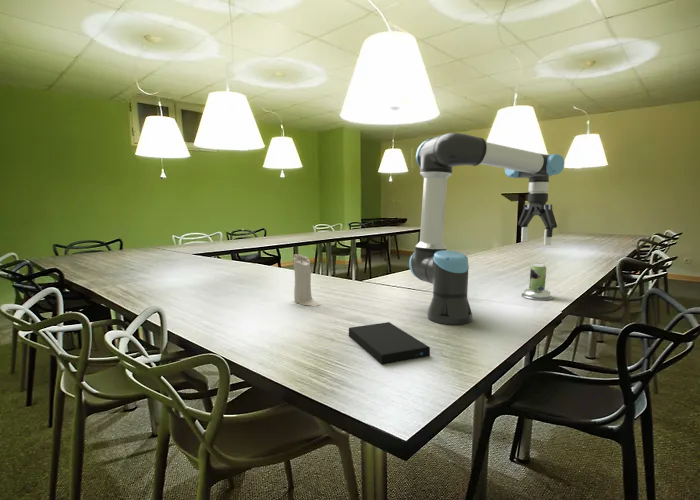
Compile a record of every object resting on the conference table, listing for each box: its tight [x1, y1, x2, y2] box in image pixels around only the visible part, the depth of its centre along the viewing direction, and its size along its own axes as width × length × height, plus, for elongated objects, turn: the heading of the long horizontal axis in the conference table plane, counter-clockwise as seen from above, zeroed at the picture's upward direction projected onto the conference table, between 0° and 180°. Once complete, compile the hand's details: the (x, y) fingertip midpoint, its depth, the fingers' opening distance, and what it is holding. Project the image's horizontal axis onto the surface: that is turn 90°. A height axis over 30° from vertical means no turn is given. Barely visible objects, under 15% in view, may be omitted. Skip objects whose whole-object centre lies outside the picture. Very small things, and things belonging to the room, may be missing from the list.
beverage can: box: [528, 262, 547, 292], centre depth 163 cm, size 6×7×12 cm
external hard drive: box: [348, 321, 431, 366], centre depth 110 cm, size 14×23×3 cm, turn 22°
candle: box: [293, 253, 321, 307], centre depth 157 cm, size 7×14×20 cm, turn 41°
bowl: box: [521, 288, 553, 302], centre depth 163 cm, size 12×12×2 cm
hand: (535, 243), depth 162 cm, fingers open, 13 cm apart
